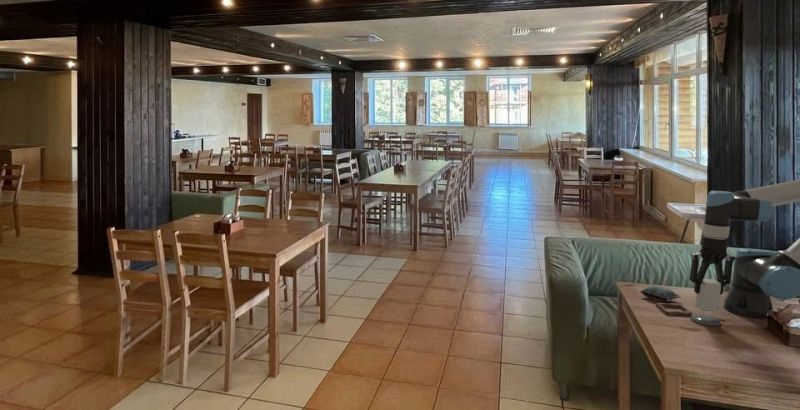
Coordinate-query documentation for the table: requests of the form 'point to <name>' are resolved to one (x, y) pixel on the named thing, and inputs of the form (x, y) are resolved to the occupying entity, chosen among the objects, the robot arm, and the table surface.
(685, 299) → the table surface
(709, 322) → the grey disc
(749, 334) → the table surface
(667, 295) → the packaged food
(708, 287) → the grey block
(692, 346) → the table surface
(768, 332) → the table surface
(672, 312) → the walnut holder
